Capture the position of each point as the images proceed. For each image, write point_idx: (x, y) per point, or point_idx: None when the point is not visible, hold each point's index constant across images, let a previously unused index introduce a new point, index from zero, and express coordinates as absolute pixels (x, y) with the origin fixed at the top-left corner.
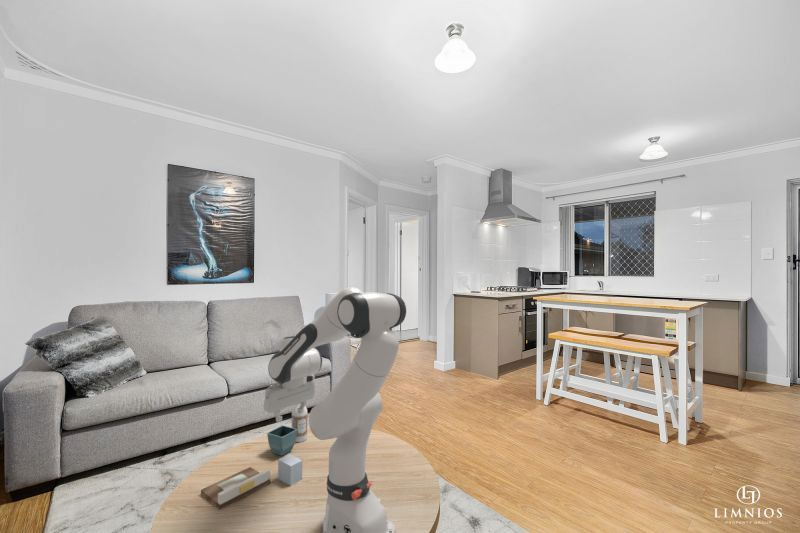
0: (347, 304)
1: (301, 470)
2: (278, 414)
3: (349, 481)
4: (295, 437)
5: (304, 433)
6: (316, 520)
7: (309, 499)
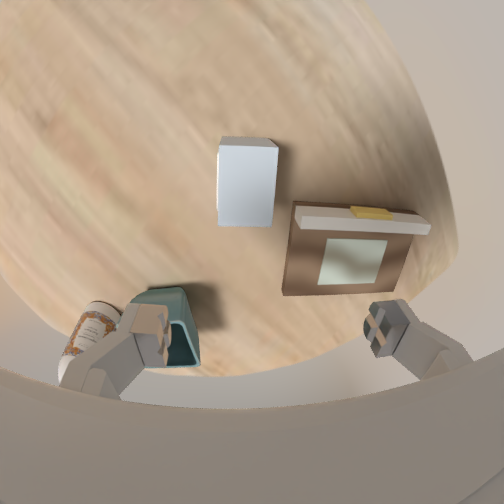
0: None
1: (224, 140)
2: (442, 338)
3: None
4: None
5: (90, 314)
6: None
7: (283, 42)
